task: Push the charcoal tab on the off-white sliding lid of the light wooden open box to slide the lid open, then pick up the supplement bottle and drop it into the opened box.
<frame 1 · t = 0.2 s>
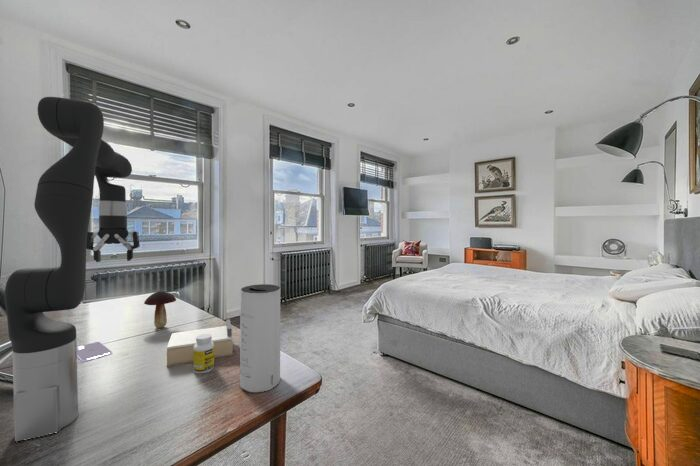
hand: (114, 261, 100), 29 cm above the table, tool pointing down, fingers open, 8 cm apart
mobile phone: (91, 353, 95), on the table
decorative mushroom: (160, 328, 117), on the table
speaker: (260, 383, 77), on the table
light wooden open box: (201, 353, 94), on the table
mailer lid: (201, 332, 94), point 7 cm above the table, slide at 0.0 cm
supplement bottle: (204, 370, 84), on the table
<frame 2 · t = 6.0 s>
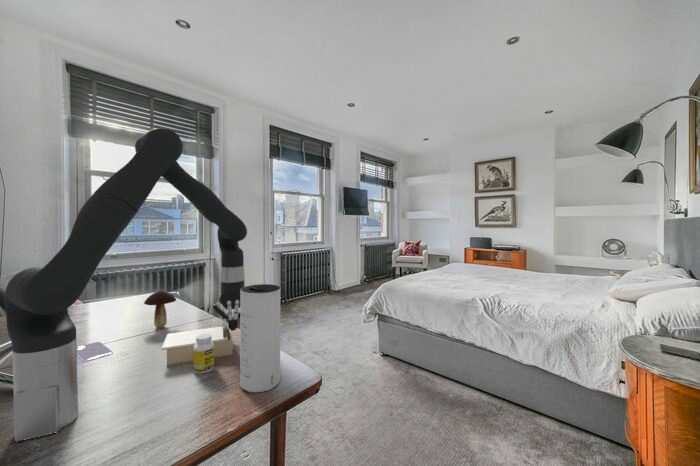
hand: (233, 329, 98), 6 cm above the table, tool pointing down, fingers closed
mailer lid: (197, 333, 94), point 7 cm above the table, slide at 1.3 cm, touching gripper
everything else where it was.
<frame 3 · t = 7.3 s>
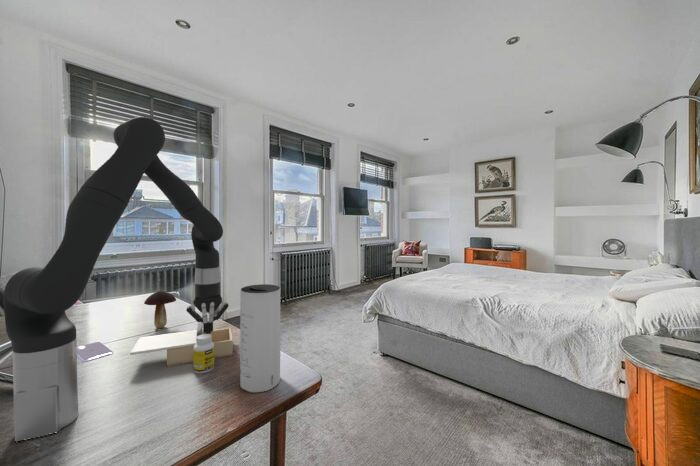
hand: (208, 333, 95), 6 cm above the table, tool pointing down, fingers closed
mailer lid: (170, 336, 91), point 7 cm above the table, slide at 8.8 cm, touching gripper
everything else where it was.
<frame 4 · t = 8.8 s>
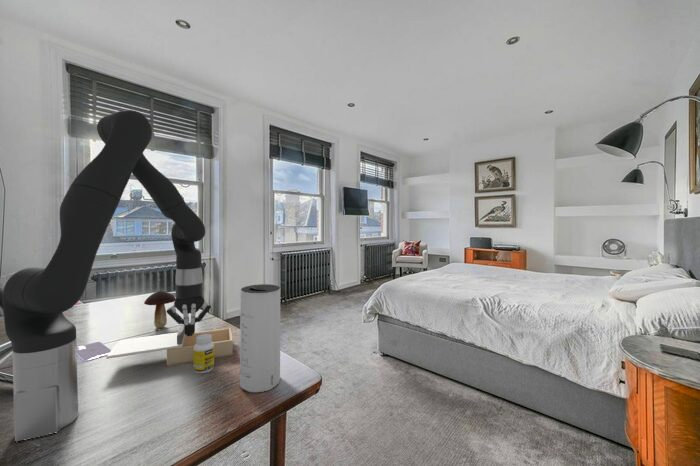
hand: (190, 335, 93), 6 cm above the table, tool pointing down, fingers closed
mailer lid: (150, 339, 88), point 7 cm above the table, slide at 14.1 cm, touching gripper
everything else where it was.
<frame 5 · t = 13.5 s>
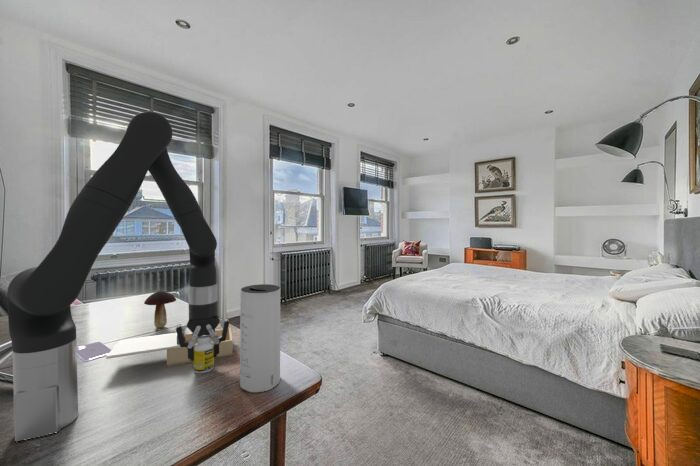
hand: (204, 357, 84), 4 cm above the table, tool pointing down, fingers closed on supplement bottle, 5 cm apart
mailer lid: (150, 339, 88), point 7 cm above the table, slide at 14.1 cm
supplement bottle: (204, 370, 84), on the table, touching gripper
everything else where it was.
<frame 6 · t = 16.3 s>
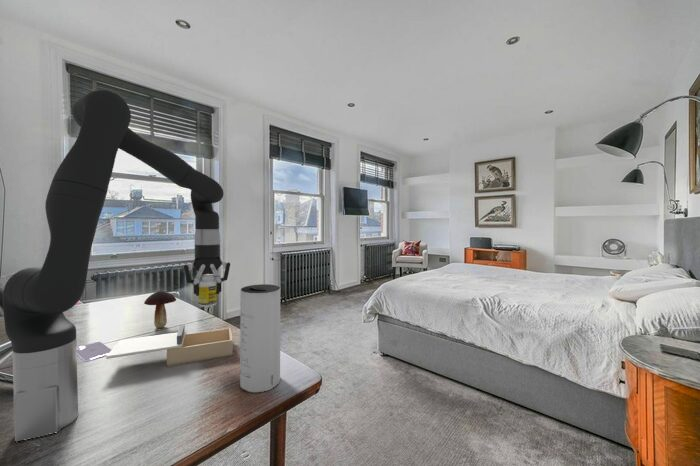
hand: (208, 294, 95), 19 cm above the table, tool pointing down, fingers closed on supplement bottle, 5 cm apart
supplement bottle: (207, 305, 95), point 16 cm above the table, touching gripper
everything else where it was.
when the fingers open (6 cm above the table, at t = 19.2 s): supplement bottle drops 2 cm, resting on light wooden open box.
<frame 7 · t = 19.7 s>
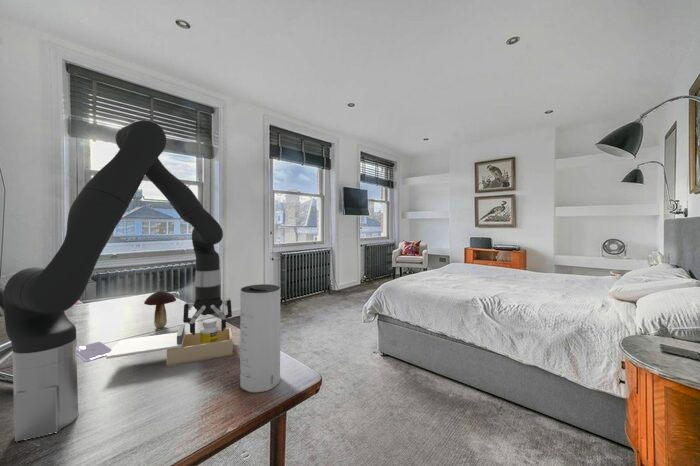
hand: (208, 332, 95), 7 cm above the table, tool pointing down, fingers open, 8 cm apart
supplement bottle: (209, 350, 95), resting on light wooden open box
everything else where it was.
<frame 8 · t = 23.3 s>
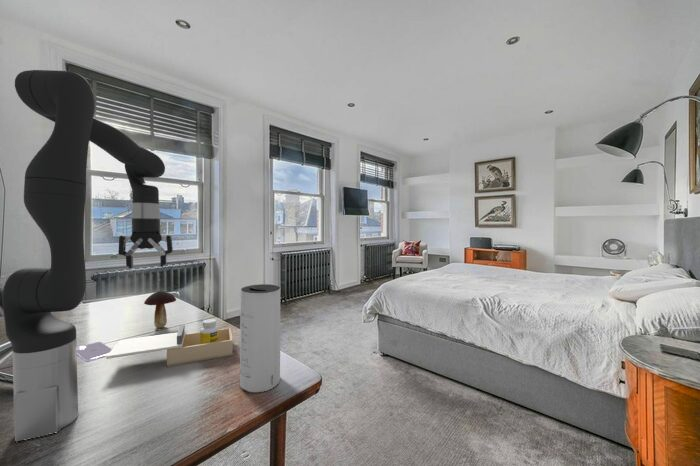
hand: (147, 267, 94), 28 cm above the table, tool pointing down, fingers open, 8 cm apart
nothing on the table moved.
at the end: mailer lid slide at 14.1 cm; supplement bottle inside the target area on the light wooden open box (2.0 cm from its centre), point 0.4 cm above the light wooden open box's base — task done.
